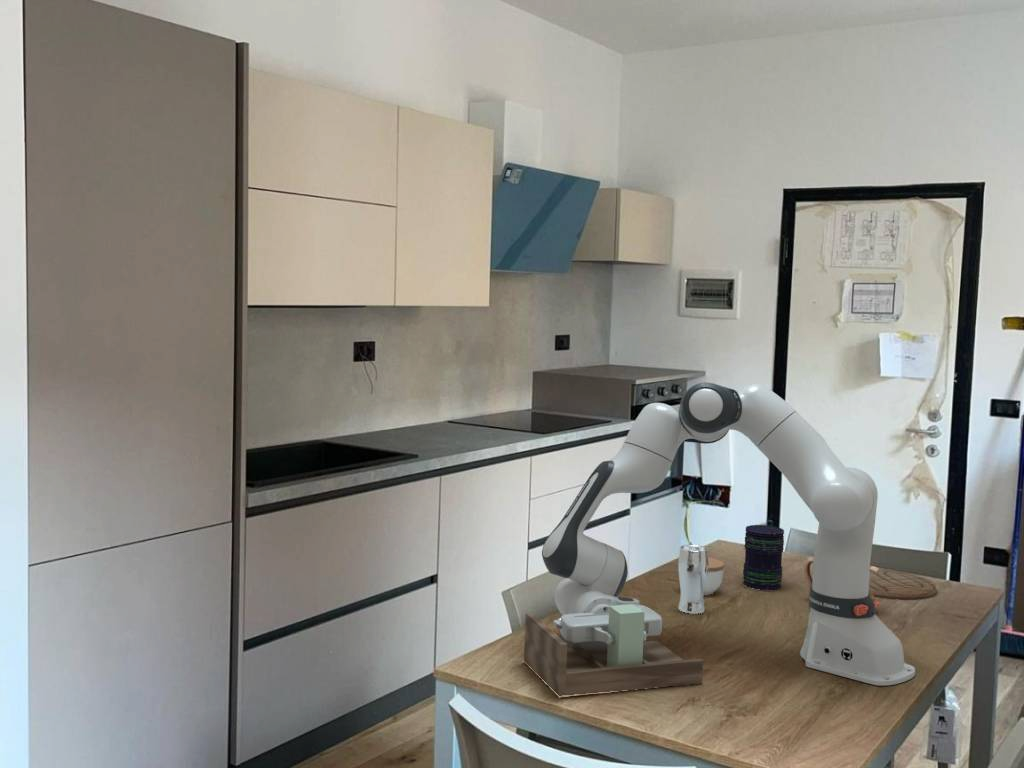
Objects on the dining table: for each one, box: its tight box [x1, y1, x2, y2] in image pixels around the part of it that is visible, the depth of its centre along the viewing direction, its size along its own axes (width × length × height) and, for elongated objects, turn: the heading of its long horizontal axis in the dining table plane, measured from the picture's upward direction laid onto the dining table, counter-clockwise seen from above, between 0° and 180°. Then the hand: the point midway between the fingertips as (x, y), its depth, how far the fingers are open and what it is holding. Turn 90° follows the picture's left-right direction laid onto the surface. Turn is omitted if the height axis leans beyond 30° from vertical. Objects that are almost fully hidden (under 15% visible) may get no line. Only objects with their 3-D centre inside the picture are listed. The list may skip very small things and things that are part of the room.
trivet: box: [869, 567, 937, 601], centre depth 265 cm, size 25×25×2 cm
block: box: [607, 604, 645, 667], centre depth 192 cm, size 5×5×12 cm
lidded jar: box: [703, 557, 725, 596], centre depth 254 cm, size 11×11×9 cm
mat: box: [556, 634, 608, 649], centre depth 211 cm, size 12×13×1 cm
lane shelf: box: [523, 612, 704, 696], centre depth 196 cm, size 19×29×10 cm, turn 109°
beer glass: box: [677, 544, 709, 615], centre depth 238 cm, size 7×7×15 cm
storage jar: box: [742, 524, 785, 591], centre depth 261 cm, size 10×10×15 cm
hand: (627, 638), depth 191 cm, fingers closed on block, 5 cm apart
